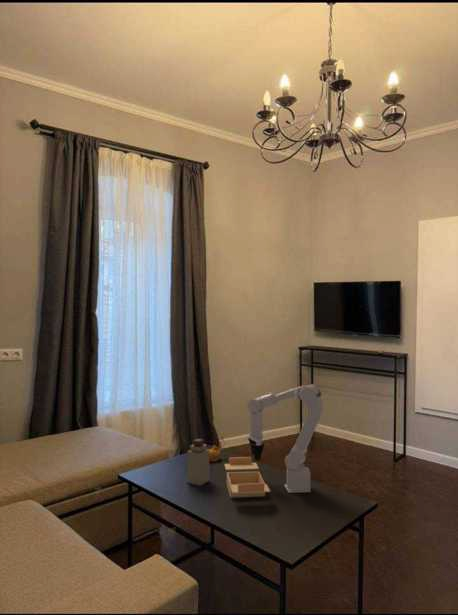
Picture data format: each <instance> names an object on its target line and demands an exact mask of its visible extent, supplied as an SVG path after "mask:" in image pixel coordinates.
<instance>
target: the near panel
mask: <svg viewBox="0 0 458 615" xmlns="http://www.w3.org/2000/svg"><path fill="white" fill-rule="evenodd" d="M264 483H265V482H264ZM264 483H246V484H238V485H230V487H231V490H232V493H255V492H265V493H270V492H271V490H270V487H269V486H268V484H267V483H265V484H264Z"/></svg>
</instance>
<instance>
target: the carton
mask: <svg viewBox="0 0 458 615" xmlns="http://www.w3.org/2000/svg"><path fill="white" fill-rule="evenodd" d="M246 483H264V484H266V483H265V481H264V479H263V477H262V474H261V472H260V471H228V472H226V487H227V490H228V495H229V498H230V499H231V498H233V499H234V498H254V497H255V498H257V497H266V492H255V493H232V490H231V487H230V485H238V484H246Z"/></svg>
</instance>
